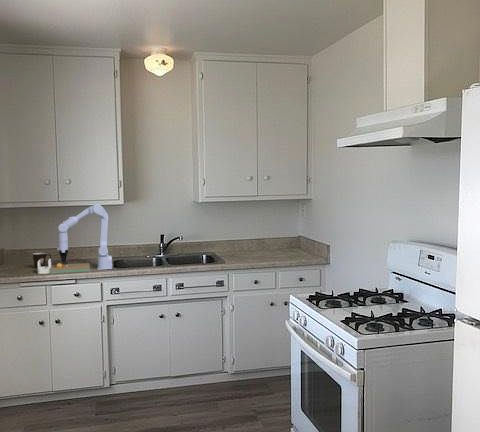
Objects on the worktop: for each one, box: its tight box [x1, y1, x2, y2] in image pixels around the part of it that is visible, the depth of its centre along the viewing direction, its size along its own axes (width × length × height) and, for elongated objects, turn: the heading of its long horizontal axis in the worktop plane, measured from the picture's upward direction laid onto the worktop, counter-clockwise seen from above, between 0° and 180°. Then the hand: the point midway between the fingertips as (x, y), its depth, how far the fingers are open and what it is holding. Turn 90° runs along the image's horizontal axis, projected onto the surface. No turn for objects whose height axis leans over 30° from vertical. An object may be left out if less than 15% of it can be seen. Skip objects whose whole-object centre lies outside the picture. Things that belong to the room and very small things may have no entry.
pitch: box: [37, 258, 91, 275], centre depth 334 cm, size 32×12×8 cm, turn 108°
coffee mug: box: [32, 252, 52, 270], centre depth 349 cm, size 12×9×10 cm
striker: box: [62, 256, 69, 267], centre depth 334 cm, size 3×6×8 cm, turn 18°
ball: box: [56, 262, 63, 267], centre depth 333 cm, size 4×4×4 cm
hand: (63, 262), depth 334 cm, fingers closed on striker, 3 cm apart
